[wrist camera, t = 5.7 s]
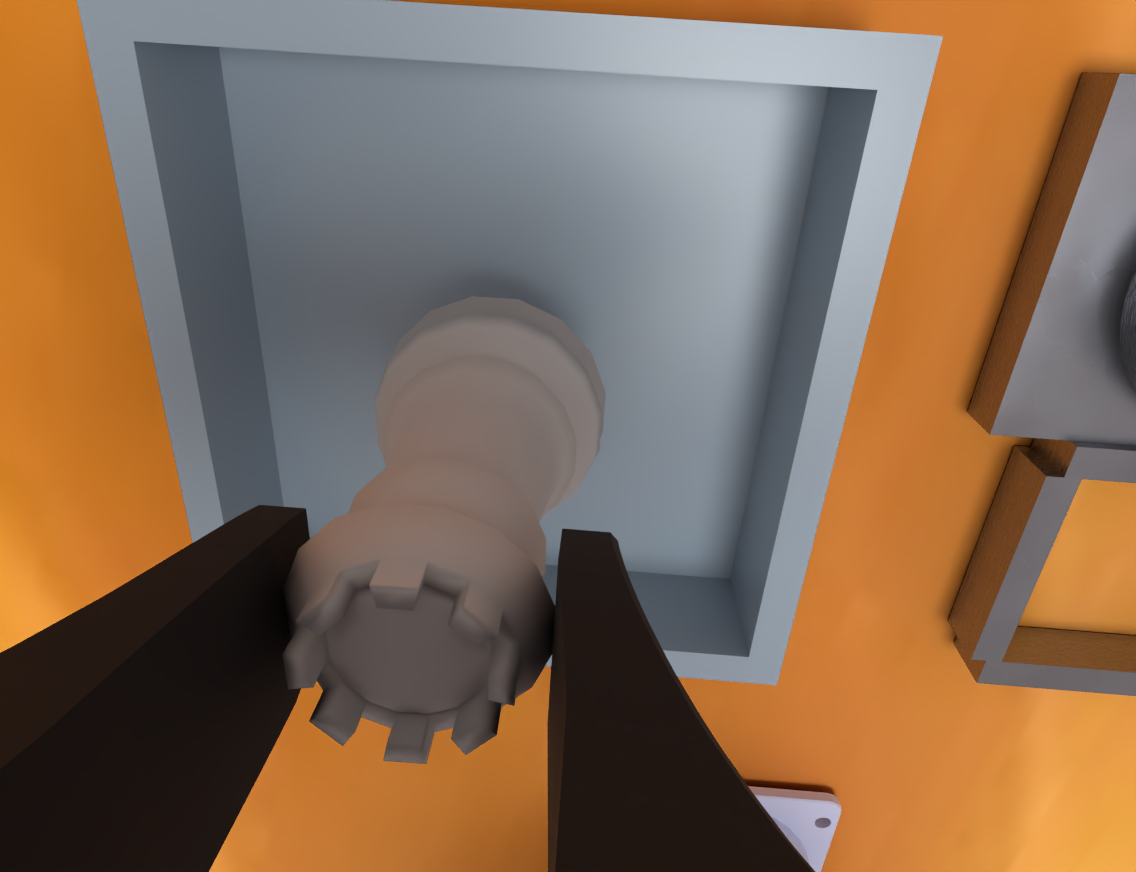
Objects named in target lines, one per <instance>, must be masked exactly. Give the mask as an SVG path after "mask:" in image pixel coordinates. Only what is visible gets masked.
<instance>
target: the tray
mask: <svg viewBox="0 0 1136 872" xmlns="http://www.w3.org/2000/svg"><path fill="white" fill-rule="evenodd" d="M77 3H78V8H79V13H80V17H81V22H82V27H83V32H84V36H85V41H86V46H87V50H88V55H89V60H90V64H91V69H92V74H93V78H94V83H95V88H96V92H97V97H98V102H99V106H100V111H101V116H102V121H103V125H104V130H105V135H106V139H107V144H108V149H109V153H110V158H111V163H112V167H113V172H114V177H115V181H116V186H117V191H118V195H119V200H120V205H121V210H122V214H123V219H124V224H125V228H126V233H127V238H128V242H129V247H130V252H131V256H132V261H133V266H134V270H135V275H136V280H137V284H138V289H139V294H140V299H141V303H142V308H143V313H144V317H145V322H146V327H147V331H148V336H149V341H150V345H151V350H152V355H153V359H154V364H155V369H156V373H157V378H158V383H159V388H160V392H161V397H162V402H163V406H164V411H165V416H166V420H167V425H168V430H169V434H170V439H171V444H172V448H173V453H174V458H175V462H176V467H177V472H178V476H179V481H180V486H181V491H182V495H183V500H184V505H185V509H186V514H187V519H188V523H189V528H190V533H191V537H192V542H193V543H194V542H195V541H197V540H198V539H200V538H202V537H203V536H205V535H207V534H208V533H210V532H212V531H213V530H215V529H217V528H218V527H220V526H222V525H223V524H225V523H227V522H229V521H230V520H232V519H234V518H235V517H237V516H239V515H241V514H242V513H244V512H246V511H248V510H250V509H252V508H254V507H256V506H258V505H269V506H282V507H295V508H306V512H307V520H308V528H309V536H310V539H311V538H312V537H313V536H314V535H315V534H316V533H318V532H319V531H320V530H321V529H322V528H323V527H325V526H326V525H327V524H328V523H329V522H330V521H331V520H333V519H334V518H336V517H339V516H343V515H346V514H348V512H349V510H350V507H351V505H352V502H353V500H354V497H355V495H356V493H357V492H359V491H360V490H361V489H362V488H363V487H364V486H366V485H367V484H368V483H369V482H370V481H371V480H372V479H374V478H375V477H376V476H377V475H378V474H379V473H380V472H382V471H383V470H385V468H386V464H385V462H384V456H383V454H382V452H381V450H380V448H379V447H378V441H377V427H376V412H375V395H376V393H377V390H378V388H379V385H380V382H381V380H382V377H383V375H384V372H385V370H386V367H387V364H388V362H389V359H390V357H391V356H392V355H393V354H394V352H395V349H396V347H397V344H398V342H399V340H400V339H401V338H402V337H403V336H404V335H405V334H406V333H407V332H408V331H409V330H410V329H411V328H413V327H414V326H415V325H416V324H417V323H418V322H419V321H420V320H421V319H422V318H423V317H424V316H425V315H426V314H427V313H428V312H429V311H432V310H434V309H437V308H440V307H443V306H446V305H449V304H452V303H455V302H457V301H460V300H463V299H466V298H469V297H472V296H475V297H491V298H507V299H519V300H521V301H524V302H526V303H528V304H530V305H532V306H534V307H536V308H538V309H540V310H543V311H545V312H547V313H549V314H551V315H553V316H555V317H557V318H559V319H561V320H562V321H563V322H564V323H565V324H566V325H567V326H568V327H569V328H570V330H571V331H572V332H573V333H574V334H575V335H576V336H577V337H578V338H579V339H580V340H581V341H582V343H583V344H584V345H585V346H586V347H587V348H588V349H589V350H590V351H591V352H592V355H593V358H594V361H595V363H596V366H597V369H598V372H599V375H600V377H601V380H602V383H603V386H604V388H605V391H606V398H605V411H604V423H603V433H602V435H601V437H600V446H599V452H598V454H597V456H596V458H595V459H594V461H593V463H592V465H591V467H590V468H589V470H588V472H587V474H586V476H585V477H584V479H583V481H582V483H581V485H580V486H579V488H578V489H577V490H576V492H575V493H574V494H572V495H571V496H570V497H568V498H567V499H566V500H564V501H563V502H562V503H561V504H559V505H558V506H557V507H555V508H554V509H553V510H551V511H550V512H549V513H547V514H546V515H545V516H543V517H542V518H541V520H540V522H539V523H540V526H541V528H542V530H543V533H544V535H545V537H546V559H545V573H544V575H543V577H542V578H543V580H544V583H545V585H546V587H547V589H548V592H549V594H550V596H551V598H552V600H553V603H554V605H555V601H556V586H557V570H558V557H559V549H560V541H561V534H562V529H575V530H588V531H600V532H611V534H612V535H613V536H614V537H615V538H616V539H617V540H618V543H619V548H620V552H621V555H622V558H623V562H624V564H625V567H626V570H627V573H628V575H629V578H630V581H631V583H632V586H633V588H634V590H635V593H636V595H637V598H638V600H639V602H640V605H641V607H642V609H643V611H644V613H645V615H646V618H647V620H648V622H649V624H650V626H651V628H652V630H653V632H654V633H655V635H656V637H657V639H658V641H659V643H660V645H661V647H662V649H663V651H664V653H665V655H666V657H667V659H668V661H669V663H670V664H671V666H672V668H673V670H674V672H675V674H676V675H677V677H683V678H696V679H708V680H720V681H732V682H744V683H756V684H768V685H777V683H778V679H779V675H780V671H781V667H782V663H783V659H784V655H785V651H786V647H787V644H788V640H789V636H790V632H791V628H792V624H793V620H794V616H795V612H796V608H797V605H798V601H799V597H800V593H801V589H802V585H803V581H804V577H805V573H806V569H807V565H808V562H809V558H810V554H811V550H812V546H813V542H814V538H815V534H816V530H817V526H818V523H819V519H820V515H821V511H822V507H823V503H824V499H825V495H826V491H827V487H828V483H829V480H830V476H831V472H832V468H833V464H834V460H835V456H836V452H837V448H838V444H839V441H840V437H841V433H842V429H843V425H844V421H845V417H846V413H847V409H848V405H849V401H850V398H851V394H852V390H853V386H854V382H855V378H856V374H857V370H858V366H859V362H860V358H861V355H862V351H863V347H864V343H865V339H866V335H867V331H868V327H869V323H870V319H871V316H872V312H873V308H874V304H875V300H876V296H877V292H878V288H879V284H880V280H881V276H882V273H883V269H884V265H885V261H886V257H887V253H888V249H889V245H890V241H891V237H892V234H893V230H894V226H895V222H896V218H897V214H898V210H899V206H900V202H901V198H902V194H903V191H904V187H905V183H906V179H907V175H908V171H909V167H910V163H911V159H912V155H913V152H914V148H915V144H916V140H917V136H918V132H919V128H920V124H921V120H922V116H923V112H924V109H925V105H926V101H927V97H928V93H929V89H930V85H931V81H932V77H933V73H934V70H935V66H936V62H937V58H938V54H939V50H940V46H941V42H942V38H943V36H935V35H920V34H904V33H889V32H873V31H857V30H842V29H826V28H810V27H795V26H779V25H763V24H748V23H732V22H716V21H701V20H685V19H669V18H654V17H638V16H622V15H607V14H591V13H575V12H560V11H544V10H528V9H513V8H497V7H481V6H466V5H450V4H435V3H419V2H403V1H388V0H77ZM551 664H552V655H551V657H550V659H549V660H548V662H547V664H546V665H545V666H550V667H551Z"/></svg>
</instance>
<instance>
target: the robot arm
mask: <svg viewBox="0 0 1136 872" xmlns="http://www.w3.org/2000/svg"><path fill="white" fill-rule="evenodd" d="M308 540H310V536H309V528H308V520H307V512H306V508H295V507H282V506H269V505H258V506H256V507H254V508H252V509H250V510H248V511H246V512H244V513H242V514H241V515H239V516H237V517H235V518H234V519H232V520H230V521H229V522H227V523H225V524H223V525H222V526H220V527H218V528H217V529H215V530H213V531H212V532H210V533H208V534H207V535H205V536H203V537H202V538H200V539H198V540H197V541H195V542H194V543H192V544H190V545H189V546H187V547H185V548H184V549H182V550H180V551H179V552H177V553H176V554H174V555H172V556H171V557H169V558H167V559H166V560H164V561H162V562H161V563H159V564H157V565H156V566H154V567H152V568H151V569H149V570H147V571H146V572H144V573H142V574H141V575H139V576H137V577H136V578H134V579H132V580H131V581H129V582H127V583H125V584H124V585H122V586H120V587H119V588H117V589H115V590H114V591H112V592H110V593H109V594H107V595H105V596H103V597H102V598H100V599H98V600H96V601H94V602H93V603H91V604H89V605H87V606H85V607H84V608H82V609H80V610H78V611H76V612H74V613H73V614H71V615H69V616H67V617H65V618H64V619H62V620H60V621H58V622H56V623H55V624H53V625H51V626H49V627H47V628H46V629H44V630H42V631H40V632H38V633H37V634H35V635H33V636H31V637H29V638H27V639H26V640H24V641H22V642H20V643H18V644H17V645H15V646H13V647H11V648H9V649H7V650H5V651H3V652H1V653H0V872H209V870H210V868H211V866H212V864H213V862H214V860H215V858H216V857H217V855H218V853H219V851H220V849H221V847H222V845H223V843H224V841H225V839H226V837H227V835H228V833H229V832H230V830H231V828H232V826H233V824H234V822H235V820H236V818H237V816H238V814H239V812H240V810H241V808H242V807H243V805H244V803H245V801H246V799H247V797H248V795H249V793H250V791H251V789H252V787H253V785H254V783H255V782H256V780H257V778H258V776H259V774H260V772H261V770H262V768H263V766H264V764H265V762H266V760H267V758H268V756H269V755H270V753H271V751H272V749H273V747H274V745H275V743H276V741H277V739H278V737H279V735H280V733H281V731H282V729H283V727H284V725H285V723H286V721H287V719H288V717H289V715H290V713H291V711H292V709H293V707H294V705H295V703H296V701H297V698H298V695H299V693H300V690H301V688H298V689H288V687H287V680H286V674H285V667H284V660H283V653H284V651H285V649H286V648H287V646H288V644H289V642H290V641H291V639H292V637H291V635H290V633H289V625H288V618H287V611H286V604H285V597H284V586H285V583H286V581H287V578H288V575H289V573H290V570H291V567H292V565H293V562H294V559H295V557H296V554H297V551H298V549H299V548H300V547H301V546H303V545H304V544H305V543H306V542H307V541H308ZM840 815H841V806H840V803H839V800H838V798H837V797H836V796H834V795H833V794H830V793H824V792H812V791H801V790H789V789H777V788H766V787H754V786H748V785H747V784H746V783H745V781H744V780H743V778H742V777H741V776H740V774H739V773H738V771H737V770H736V768H735V767H734V766H733V764H732V763H731V761H730V760H729V759H728V757H727V756H726V754H725V753H724V751H723V750H722V748H721V747H720V745H719V744H718V742H717V741H716V739H715V738H714V736H713V735H712V733H711V732H710V730H709V728H708V727H707V725H706V724H705V722H704V721H703V719H702V717H701V716H700V714H699V713H698V711H697V709H696V708H695V706H694V704H693V703H692V701H691V699H690V698H689V696H688V694H687V692H686V691H685V689H684V687H683V686H682V684H681V682H680V681H679V679H678V677H677V675H676V674H675V672H674V670H673V668H672V666H671V664H670V663H669V661H668V659H667V657H666V655H665V653H664V651H663V649H662V647H661V645H660V643H659V641H658V639H657V637H656V635H655V633H654V632H653V630H652V628H651V626H650V624H649V622H648V620H647V618H646V615H645V613H644V611H643V609H642V607H641V605H640V602H639V600H638V598H637V595H636V593H635V590H634V588H633V586H632V583H631V581H630V578H629V575H628V573H627V570H626V567H625V564H624V562H623V558H622V555H621V552H620V548H619V543H618V540H617V539H616V538H615V537H614V536H613V535H612V534H611V532H600V531H588V530H575V529H562V534H561V541H560V549H559V557H558V570H557V586H556V601H555V617H554V633H553V648H552V664H551V680H550V695H549V711H548V872H821V869H822V867H823V864H824V861H825V858H826V855H827V852H828V849H829V846H830V844H831V841H832V838H833V835H834V832H835V829H836V826H837V824H838V821H839V818H840Z"/></svg>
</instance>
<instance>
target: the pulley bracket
mask: <svg viewBox="0 0 1136 872" xmlns="http://www.w3.org/2000/svg"><path fill="white" fill-rule="evenodd" d="M968 413H969V414H970V415H971V416H972V417H973V418H974V419H975V420H976V421H977V422H978V423H979V424H980V425H981V426H982V427H983V428H984V429H985V430H986V431H987V432H988V433H989V434H990V435H1001V436H1015V437H1028V438H1034V440H1033V443H1032V445H1031V447H1024V446H1014V448H1013V451H1012V454H1011V456H1010V459H1009V461H1008V464H1007V467H1006V469H1005V472H1004V475H1003V477H1002V480H1001V483H1000V485H999V488H998V490H997V493H996V496H995V498H994V501H993V504H992V506H991V509H990V511H989V514H988V517H987V519H986V522H985V525H984V527H983V530H982V532H981V535H980V538H979V540H978V543H977V546H976V548H975V551H974V553H973V556H972V559H971V561H970V564H969V567H968V569H967V572H966V575H965V577H964V580H963V582H962V585H961V588H960V590H959V593H958V596H957V598H956V601H955V603H954V606H953V609H952V611H951V614H950V617H949V619H948V622H949V624H950V625H951V627H952V629H953V630H954V632H955V634H956V635H957V636H956V639H955V642H954V645H955V647H956V648H957V650H958V652H959V653H960V655H961V657H962V659H963V660H964V662H965V664H966V665H967V667H968V669H969V670H970V672H971V674H972V676H973V677H974V679H975V681H976V682H977V683H984V684H996V685H1008V686H1020V687H1032V688H1045V689H1057V690H1069V691H1081V692H1093V693H1106V694H1118V695H1130V696H1136V636H1130V635H1117V634H1105V633H1092V632H1080V631H1068V630H1055V629H1043V628H1030V627H1018V623H1019V621H1020V619H1021V617H1022V614H1023V612H1024V610H1025V607H1026V605H1027V603H1028V601H1029V598H1030V596H1031V594H1032V591H1033V589H1034V587H1035V585H1036V582H1037V580H1038V578H1039V575H1040V573H1041V571H1042V569H1043V566H1044V564H1045V562H1046V559H1047V557H1048V555H1049V553H1050V550H1051V548H1052V546H1053V543H1054V541H1055V539H1056V537H1057V534H1058V532H1059V530H1060V527H1061V525H1062V523H1063V521H1064V518H1065V516H1066V514H1067V511H1068V509H1069V507H1070V505H1071V502H1072V500H1073V498H1074V496H1075V493H1076V491H1077V489H1078V486H1079V484H1080V482H1081V480H1082V479H1089V480H1102V481H1115V482H1129V483H1136V74H1121V73H1082V75H1081V78H1080V81H1079V84H1078V87H1077V90H1076V93H1075V96H1074V99H1073V102H1072V105H1071V108H1070V111H1069V114H1068V117H1067V120H1066V123H1065V126H1064V129H1063V131H1062V134H1061V137H1060V140H1059V143H1058V146H1057V149H1056V152H1055V155H1054V158H1053V161H1052V164H1051V167H1050V170H1049V173H1048V176H1047V179H1046V182H1045V185H1044V187H1043V190H1042V193H1041V196H1040V199H1039V202H1038V205H1037V208H1036V211H1035V214H1034V217H1033V220H1032V223H1031V226H1030V229H1029V232H1028V235H1027V238H1026V241H1025V244H1024V246H1023V249H1022V252H1021V255H1020V258H1019V261H1018V264H1017V267H1016V270H1015V273H1014V276H1013V279H1012V282H1011V285H1010V288H1009V291H1008V294H1007V297H1006V300H1005V303H1004V305H1003V308H1002V311H1001V314H1000V317H999V320H998V323H997V326H996V329H995V332H994V335H993V338H992V341H991V344H990V347H989V350H988V353H987V356H986V359H985V361H984V364H983V367H982V370H981V373H980V376H979V379H978V382H977V385H976V388H975V391H974V394H973V397H972V400H971V403H970V406H969V409H968Z"/></svg>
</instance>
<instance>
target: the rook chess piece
mask: <svg viewBox="0 0 1136 872" xmlns="http://www.w3.org/2000/svg"><path fill="white" fill-rule="evenodd" d="M605 398H606V391H605V388H604V386H603V383H602V380H601V377H600V375H599V372H598V369H597V366H596V363H595V361H594V358H593V355H592V352H591V351H590V350H589V349H588V348H587V347H586V346H585V345H584V344H583V343H582V341H581V340H580V339H579V338H578V337H577V336H576V335H575V334H574V333H573V332H572V331H571V330H570V328H569V327H568V326H567V325H566V324H565V323H564V322H563V321H562V320H561V319H559V318H557V317H555V316H553V315H551V314H549V313H547V312H545V311H543V310H540V309H538V308H536V307H534V306H532V305H530V304H528V303H526V302H524V301H521V300H519V299H507V298H491V297H475V296H472V297H469V298H466V299H463V300H460V301H457V302H455V303H452V304H449V305H446V306H443V307H440V308H437V309H434V310H432V311H429V312H428V313H427V314H426V315H425V316H424V317H423V318H422V319H421V320H420V321H419V322H418V323H417V324H416V325H415V326H414V327H413V328H411V329H410V330H409V331H408V332H407V333H406V334H405V335H404V336H403V337H402V338H401V339H400V340H399V342H398V344H397V347H396V349H395V352H394V354H393V355H392V356H391V357H390V359H389V362H388V364H387V367H386V370H385V372H384V375H383V377H382V380H381V382H380V385H379V388H378V390H377V393H376V395H375V412H376V427H377V441H378V447H379V448H380V450H381V452H382V454H383V456H384V462H385V464H386V468H385V470H383V471H382V472H380V473H379V474H378V475H377V476H376V477H375V478H374V479H372V480H371V481H370V482H369V483H368V484H367V485H366V486H364V487H363V488H362V489H361V490H360V491H359V492H357V493H356V495H355V497H354V500H353V502H352V505H351V507H350V510H349V512H348V514H346V515H343V516H339V517H336V518H334V519H333V520H331V521H330V522H329V523H328V524H327V525H326V526H325V527H323V528H322V529H321V530H320V531H319V532H318V533H316V534H315V535H314V536H313V537H312V538H311V539H310V540H308V541H307V542H306V543H305V544H304V545H303V546H301V547H300V548H299V549H298V551H297V554H296V557H295V559H294V562H293V565H292V567H291V570H290V573H289V575H288V578H287V581H286V583H285V586H284V597H285V604H286V611H287V618H288V625H289V633H290V635H291V637H292V639H291V641H290V642H289V644H288V646H287V648H286V649H285V651H284V653H283V660H284V667H285V674H286V680H287V687H288V689H298V688H311V687H314V685H315V683H316V680H317V682H318V683H319V685H320V686H321V688H322V689H323V693H322V695H321V697H320V699H319V701H318V704H317V706H316V708H315V710H314V712H313V714H312V716H311V719H310V722H311V723H312V724H314V725H315V726H316V727H318V728H319V729H321V730H322V731H323V732H325V733H326V734H327V735H329V736H330V737H331V738H333V739H334V740H335V741H337V742H338V743H339V744H341V745H342V746H343V745H344V744H345V743H346V742H347V740H348V739H349V738H350V737H351V736H352V735H353V734H354V732H355V731H356V728H357V726H358V723H359V721H360V718H361V717H362V718H365V719H368V720H371V721H373V722H376V723H379V724H381V725H384V726H387V727H390V728H392V730H391V733H390V736H389V739H388V742H387V746H386V751H385V756H384V761H395V762H408V763H422V764H426V763H427V759H428V755H429V752H430V748H431V744H432V740H433V736H434V733H435V732H437V731H441V730H446V729H450V728H454V729H453V733H452V737H451V739H452V740H453V741H454V742H455V744H456V745H457V746H458V747H459V748H460V749H461V750H462V751H463V753H464V754H465V755H466V754H468V753H470V752H471V751H473V750H474V749H476V748H477V747H479V746H480V745H482V744H483V743H485V742H486V741H488V740H490V739H491V738H493V737H494V736H496V735H497V729H498V723H499V717H500V711H501V707H503V706H504V705H506V704H509V705H513V706H514V704H515V698H516V697H518V696H519V695H521V694H522V693H524V692H525V691H527V690H528V689H530V688H531V687H532V686H533V685H534V683H535V682H536V680H537V678H538V677H539V675H540V673H541V672H542V670H543V668H544V667H545V665H546V664H547V662H548V660H549V659H550V657H551V655H552V648H553V633H554V617H555V605H554V603H553V600H552V598H551V596H550V594H549V592H548V589H547V587H546V585H545V583H544V580H543V578H542V577H543V575H544V573H545V559H546V537H545V535H544V533H543V530H542V528H541V526H540V523H539V522H540V520H541V518H542V517H543V516H545V515H546V514H547V513H549V512H550V511H551V510H553V509H554V508H555V507H557V506H558V505H559V504H561V503H562V502H563V501H564V500H566V499H567V498H568V497H570V496H571V495H572V494H574V493H575V492H576V490H577V489H578V488H579V486H580V485H581V483H582V481H583V479H584V477H585V476H586V474H587V472H588V470H589V468H590V467H591V465H592V463H593V461H594V459H595V458H596V456H597V454H598V452H599V446H600V437H601V435H602V433H603V423H604V411H605Z"/></svg>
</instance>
